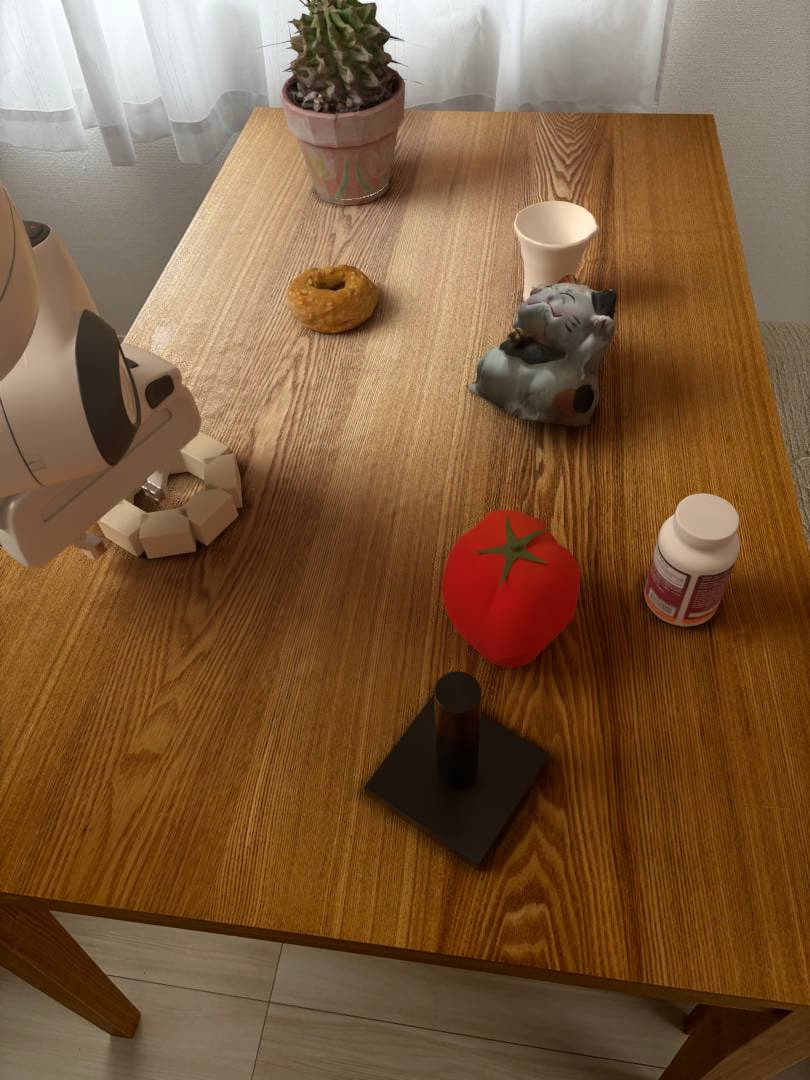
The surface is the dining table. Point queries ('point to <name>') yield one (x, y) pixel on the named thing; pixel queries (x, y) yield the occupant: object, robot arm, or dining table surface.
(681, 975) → the dining table surface
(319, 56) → the potted plant
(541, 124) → the dining table surface
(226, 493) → the ring
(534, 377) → the lucky cat figurine
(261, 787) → the dining table surface
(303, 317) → the bagel
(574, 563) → the tomato
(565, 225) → the cup
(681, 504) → the pill bottle
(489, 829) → the post
